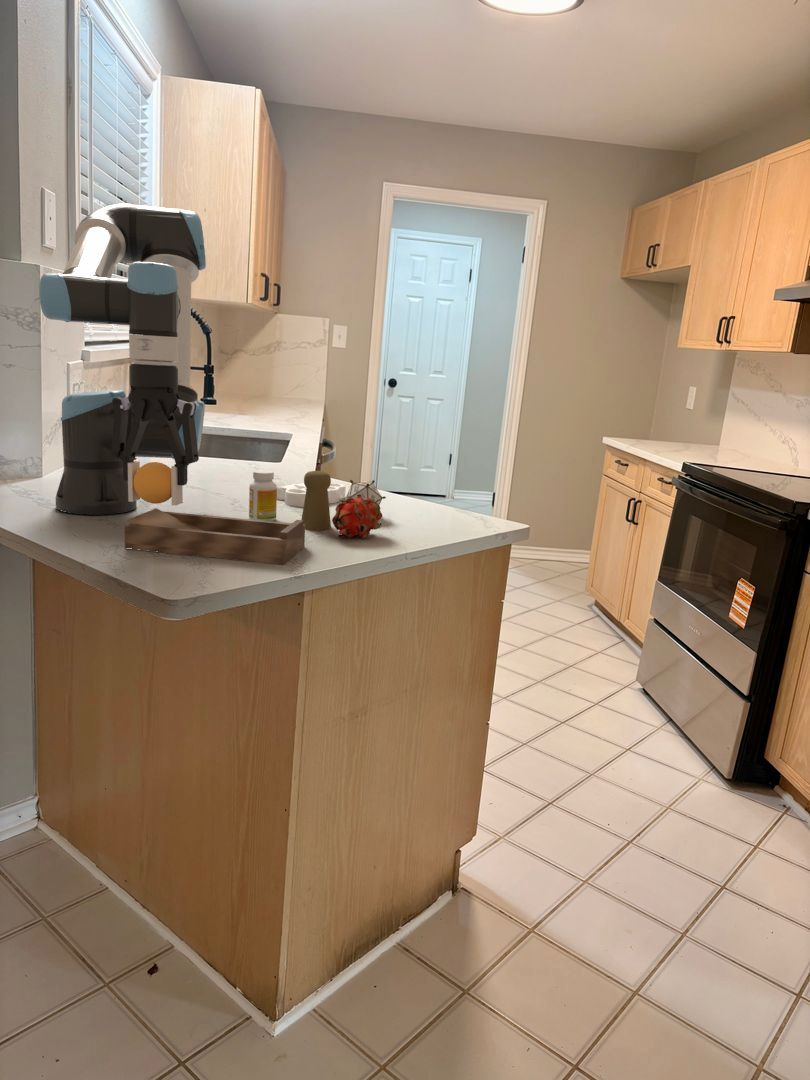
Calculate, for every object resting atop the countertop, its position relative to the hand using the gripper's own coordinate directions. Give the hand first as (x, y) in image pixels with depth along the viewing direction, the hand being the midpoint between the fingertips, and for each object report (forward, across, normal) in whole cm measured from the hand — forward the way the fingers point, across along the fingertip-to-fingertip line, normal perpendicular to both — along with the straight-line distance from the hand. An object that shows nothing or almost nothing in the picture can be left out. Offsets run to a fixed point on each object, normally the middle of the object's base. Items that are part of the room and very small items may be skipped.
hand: (155, 501), depth 131 cm
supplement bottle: (+7, +11, +24) cm, 28 cm away
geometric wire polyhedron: (+7, +29, +34) cm, 46 cm away
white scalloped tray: (+7, +14, +49) cm, 52 cm away
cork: (+7, +22, +22) cm, 32 cm away
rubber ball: (-3, 0, 0) cm, 3 cm away
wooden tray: (+7, +11, 0) cm, 13 cm away
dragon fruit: (+7, +31, +17) cm, 37 cm away
